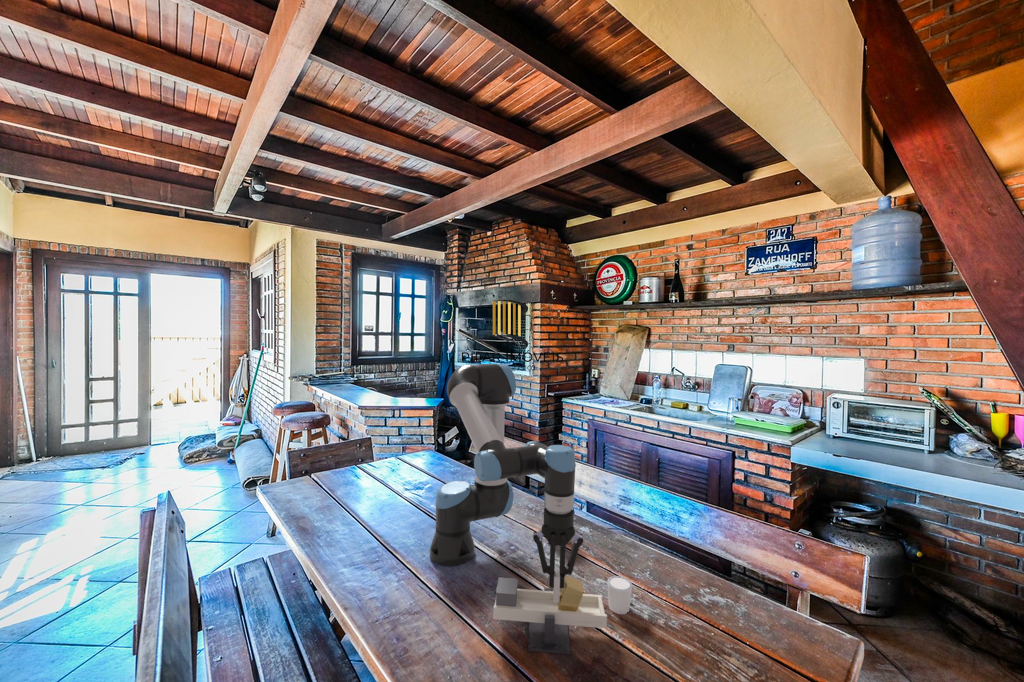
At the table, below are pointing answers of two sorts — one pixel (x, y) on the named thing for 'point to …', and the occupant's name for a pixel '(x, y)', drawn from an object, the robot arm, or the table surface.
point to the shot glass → (619, 594)
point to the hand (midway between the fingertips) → (556, 598)
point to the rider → (570, 594)
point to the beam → (544, 606)
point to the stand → (548, 635)
